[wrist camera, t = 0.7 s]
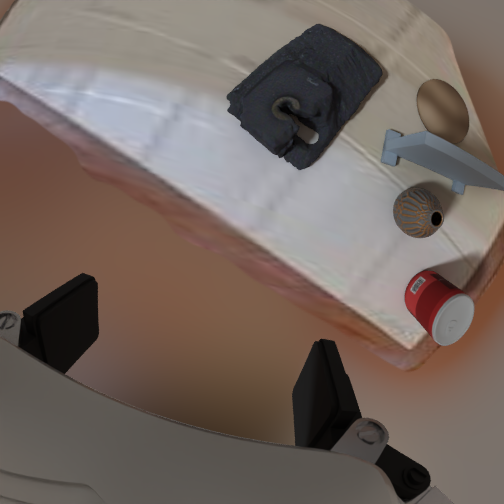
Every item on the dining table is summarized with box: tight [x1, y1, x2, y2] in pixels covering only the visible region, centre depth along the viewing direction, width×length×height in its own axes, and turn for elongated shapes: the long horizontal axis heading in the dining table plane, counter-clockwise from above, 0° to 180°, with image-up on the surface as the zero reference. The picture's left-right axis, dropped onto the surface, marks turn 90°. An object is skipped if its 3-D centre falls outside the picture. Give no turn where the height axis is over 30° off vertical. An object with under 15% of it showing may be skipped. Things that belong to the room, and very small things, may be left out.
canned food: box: [405, 271, 474, 346], centre depth 34 cm, size 8×8×11 cm
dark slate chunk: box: [227, 24, 382, 170], centre depth 31 cm, size 15×22×5 cm
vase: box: [393, 188, 444, 238], centre depth 32 cm, size 7×7×9 cm
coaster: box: [417, 79, 469, 144], centre depth 31 cm, size 11×11×1 cm
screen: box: [381, 129, 504, 195], centre depth 28 cm, size 5×16×12 cm, turn 78°
